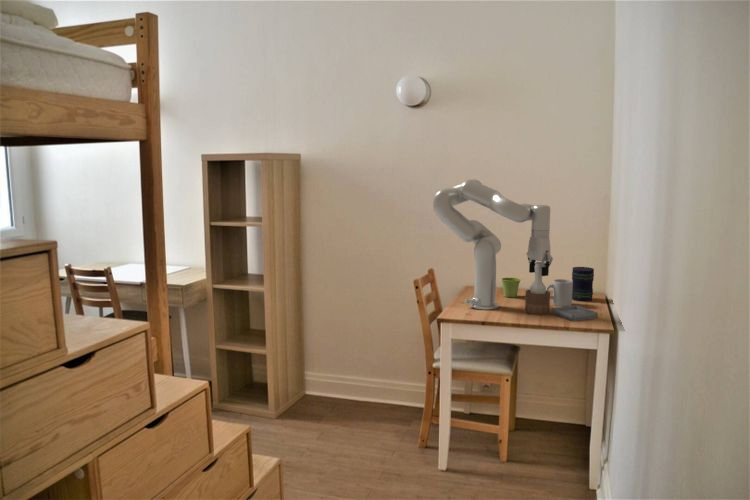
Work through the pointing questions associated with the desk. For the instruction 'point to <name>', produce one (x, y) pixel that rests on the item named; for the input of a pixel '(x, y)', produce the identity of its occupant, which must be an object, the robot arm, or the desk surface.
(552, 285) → the mug
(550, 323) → the desk surface
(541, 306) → the holder
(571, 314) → the tray
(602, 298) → the desk surface
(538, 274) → the faceted bottle
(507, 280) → the plant pot
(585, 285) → the storage jar
